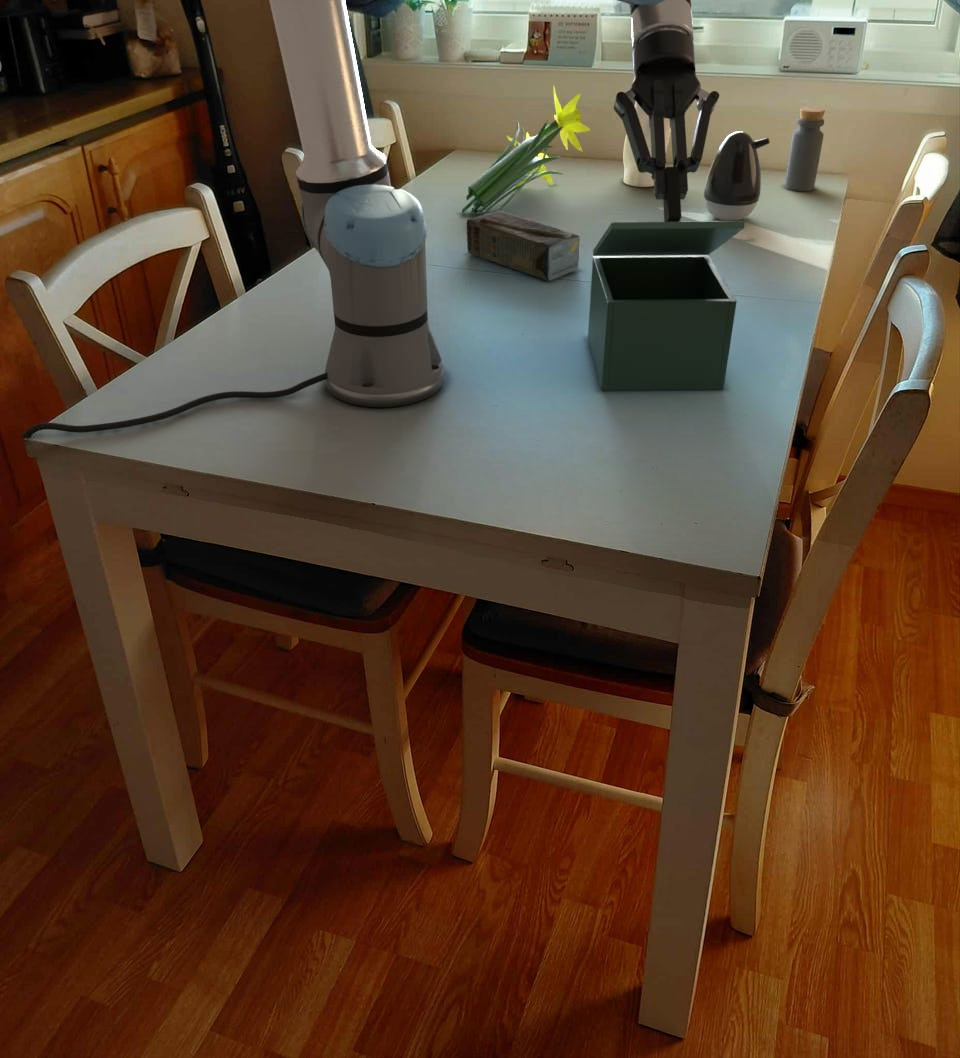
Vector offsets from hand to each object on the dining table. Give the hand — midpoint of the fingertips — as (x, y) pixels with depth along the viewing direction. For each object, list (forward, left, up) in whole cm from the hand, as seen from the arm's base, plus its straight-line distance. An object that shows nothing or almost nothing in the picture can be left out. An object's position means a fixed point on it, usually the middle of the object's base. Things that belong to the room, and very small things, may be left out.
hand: (672, 222), depth 117 cm
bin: (+2, +3, -20) cm, 20 cm away
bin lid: (+2, +3, -4) cm, 5 cm away
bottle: (+82, +52, -20) cm, 99 cm away
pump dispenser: (+56, +45, -20) cm, 74 cm away
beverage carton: (+9, +45, -20) cm, 50 cm away
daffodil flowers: (+30, +76, -20) cm, 84 cm away
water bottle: (+58, +72, -20) cm, 94 cm away
